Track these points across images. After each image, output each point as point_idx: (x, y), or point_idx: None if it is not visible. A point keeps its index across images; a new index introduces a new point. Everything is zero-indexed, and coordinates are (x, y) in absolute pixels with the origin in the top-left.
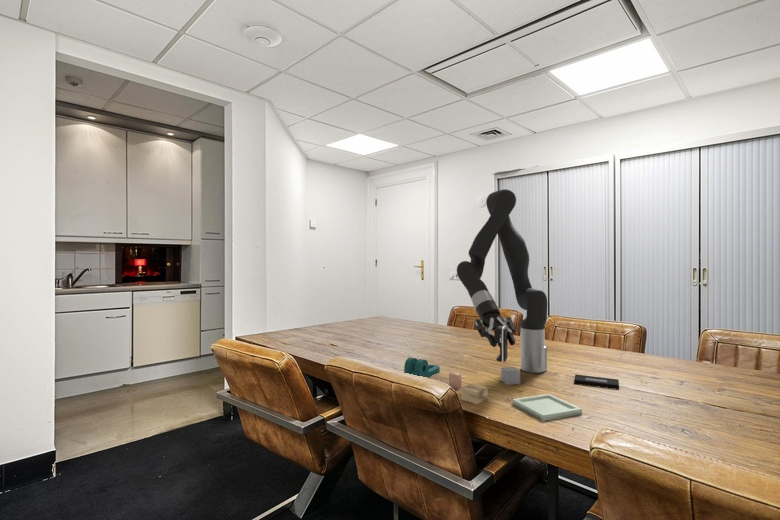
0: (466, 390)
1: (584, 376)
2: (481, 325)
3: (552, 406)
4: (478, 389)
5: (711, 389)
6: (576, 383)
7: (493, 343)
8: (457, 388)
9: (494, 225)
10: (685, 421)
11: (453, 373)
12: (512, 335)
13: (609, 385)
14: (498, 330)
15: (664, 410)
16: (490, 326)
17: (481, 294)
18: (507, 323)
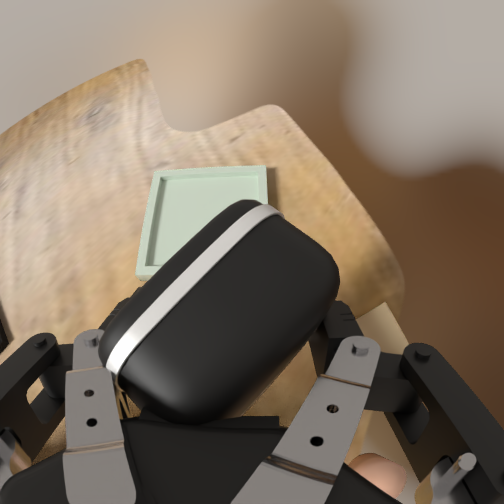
0: (404, 338)
1: None
2: (466, 414)
3: (190, 213)
4: (369, 326)
5: None
6: (6, 338)
7: (336, 302)
8: (370, 453)
9: None
10: (60, 134)
11: (389, 486)
12: (104, 326)
13: None
14: (312, 240)
15: (35, 167)
16: (352, 392)
17: None
18: (15, 439)
